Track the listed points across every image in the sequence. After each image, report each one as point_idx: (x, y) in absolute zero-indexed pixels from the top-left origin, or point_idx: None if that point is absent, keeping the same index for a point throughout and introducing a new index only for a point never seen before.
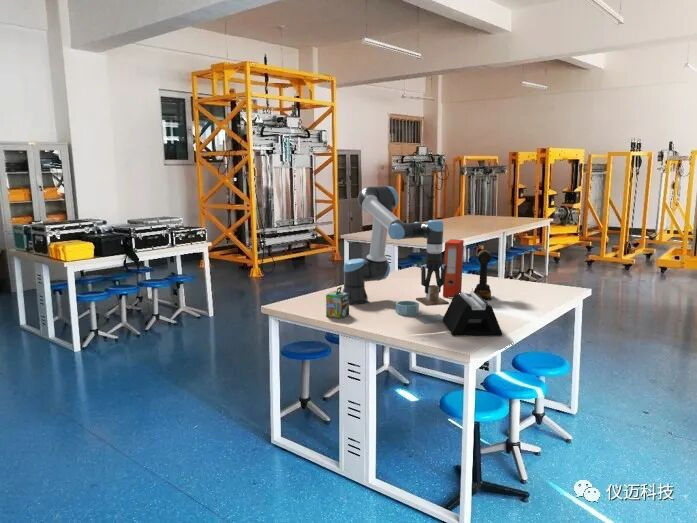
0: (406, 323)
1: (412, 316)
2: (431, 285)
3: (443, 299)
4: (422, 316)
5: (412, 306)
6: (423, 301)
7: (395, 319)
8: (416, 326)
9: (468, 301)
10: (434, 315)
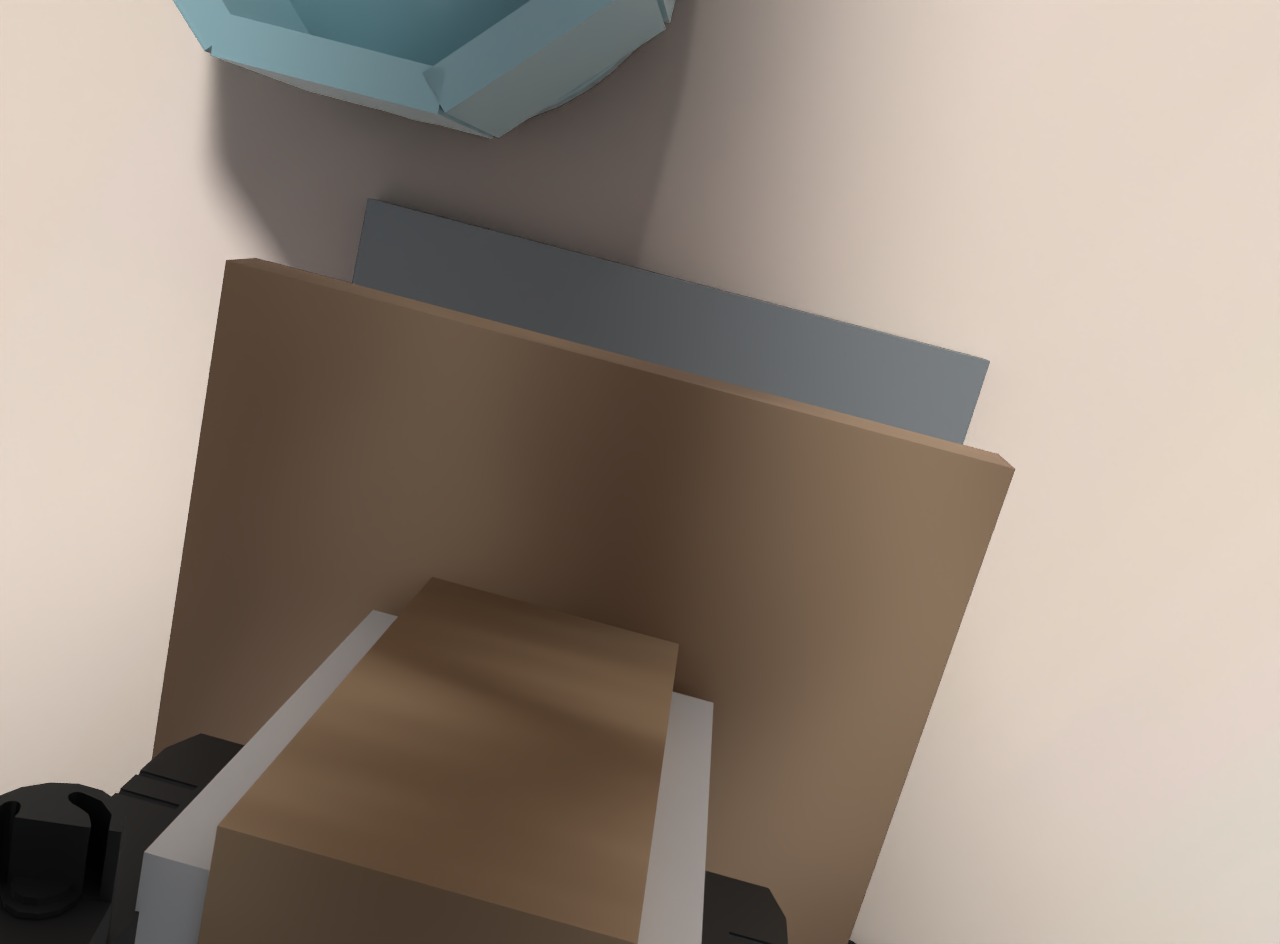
0: (51, 488)
1: (367, 213)
2: (407, 935)
3: (878, 839)
4: (546, 327)
5: (357, 92)
6: (192, 715)
7: (5, 144)
8: (105, 724)
9: None
10: (819, 394)
